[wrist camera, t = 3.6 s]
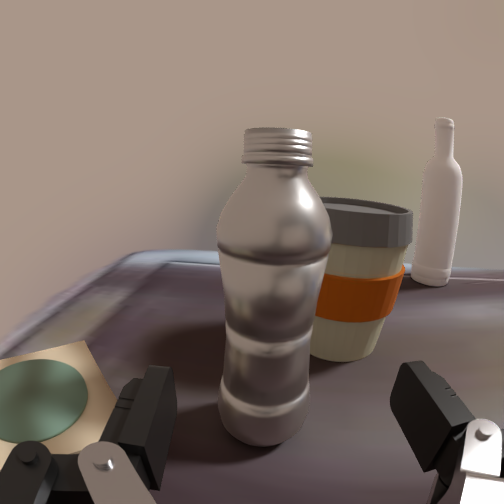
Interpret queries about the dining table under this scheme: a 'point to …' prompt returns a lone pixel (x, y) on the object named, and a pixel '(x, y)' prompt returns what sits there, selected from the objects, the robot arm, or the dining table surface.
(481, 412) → the dining table surface
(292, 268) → the plastic bottle
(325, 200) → the reusable coffee cup
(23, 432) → the base block
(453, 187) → the bottle
